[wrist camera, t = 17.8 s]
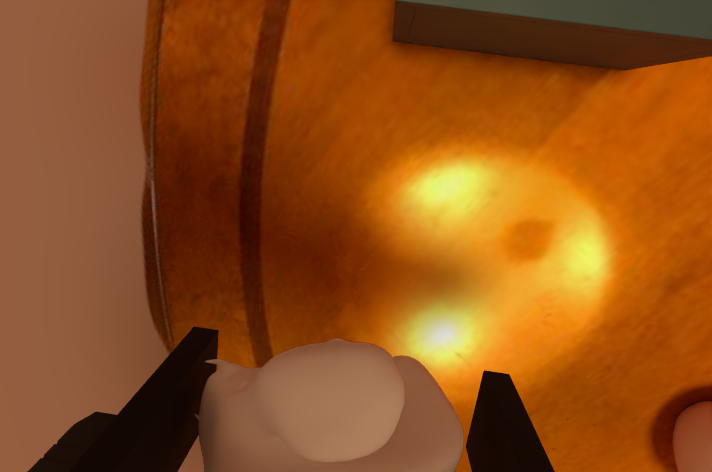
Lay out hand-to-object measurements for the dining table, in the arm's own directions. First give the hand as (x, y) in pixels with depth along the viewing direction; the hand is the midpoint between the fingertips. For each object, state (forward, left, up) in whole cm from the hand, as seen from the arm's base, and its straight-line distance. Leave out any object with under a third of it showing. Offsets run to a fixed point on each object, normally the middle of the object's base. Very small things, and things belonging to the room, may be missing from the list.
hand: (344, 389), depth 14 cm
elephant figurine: (0, 0, 0) cm, 0 cm away
